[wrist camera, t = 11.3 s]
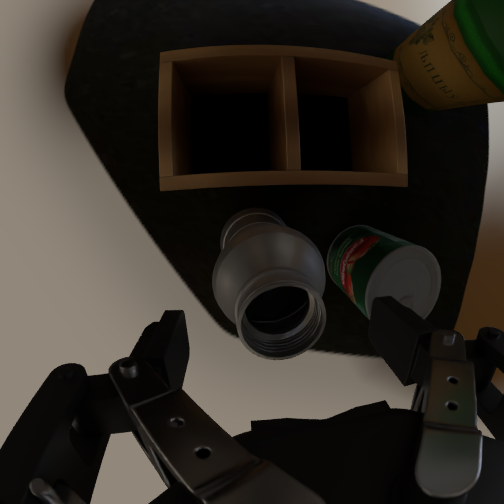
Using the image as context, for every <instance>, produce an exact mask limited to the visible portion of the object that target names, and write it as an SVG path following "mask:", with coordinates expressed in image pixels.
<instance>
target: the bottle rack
mask: <svg viewBox="0 0 504 504" xmlns="http://www.w3.org/2000/svg"><path fill="white" fill-rule="evenodd" d="M241 93H267V98H268V119H269V142H270V168H271V171H248V172H225V173H208V174H193V160H192V121H191V97H193V96H205V95H219V94H241ZM297 94H310V95H324V96H336V97H345V98H347V100H348V111H349V124H350V141H351V163H352V172H351V171H300V170H301V159H300V136H299V117H298V101H297ZM158 134H159V171H160V191H170V190H182V189H196V188H212V187H230V186H254V185H300V184H328V185H373V186H396V187H408V175H407V174H408V172H407V146H406V131H405V120H404V110H403V101H402V93H401V86H400V79H399V73H398V67H397V62H395V61H391V60H387V59H382V58H378V57H373V56H368V55H363V54H357V53H351V52H345V51H338V50H330V49H322V48H312V47H300V46H283V45H228V46H211V47H199V48H190V49H181V50H173V51H167V52H161V53H160V71H159V107H158Z"/></svg>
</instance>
